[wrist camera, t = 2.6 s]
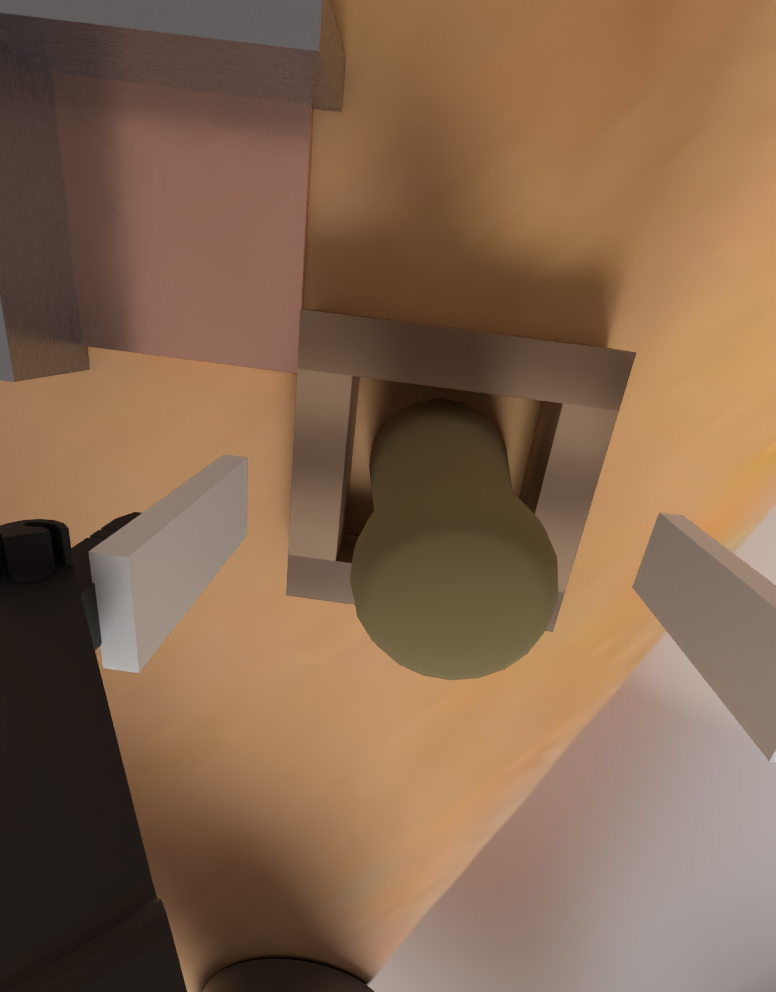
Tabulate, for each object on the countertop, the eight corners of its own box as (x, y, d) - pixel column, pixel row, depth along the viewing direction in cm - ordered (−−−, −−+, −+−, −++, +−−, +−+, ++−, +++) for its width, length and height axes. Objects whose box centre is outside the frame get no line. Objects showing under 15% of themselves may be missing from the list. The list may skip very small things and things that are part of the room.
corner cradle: (321, 400, 20) (299, 419, 16) (54, 364, 20) (-29, 376, 16) (345, 56, 16) (323, -24, 12) (8, 16, 16) (-117, -76, 12)
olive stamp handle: (425, 368, 19) (434, 428, 9) (537, 455, 20) (659, 598, 10) (342, 480, 21) (272, 634, 11) (448, 554, 22) (474, 758, 12)
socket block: (538, 598, 23) (552, 631, 20) (300, 565, 23) (286, 595, 20) (607, 347, 19) (636, 352, 16) (315, 310, 19) (300, 309, 16)
